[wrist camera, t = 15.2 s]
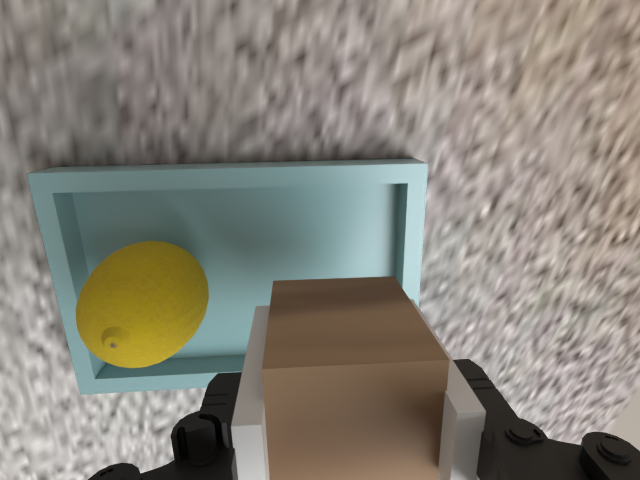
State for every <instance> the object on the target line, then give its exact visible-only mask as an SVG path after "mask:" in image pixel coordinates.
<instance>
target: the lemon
mask: <svg viewBox="0 0 640 480" xmlns="http://www.w3.org/2000/svg"><path fill="white" fill-rule="evenodd" d="M208 300H209V289H208V281H207V278H206V275H205V272H204V270H203V268H202V267H201V265H200V264H199V262H198V261H197V259H196V258H195V257H193V256H192V255H191V254H190V253H189V252H188V251H186V250H184V249H183V248H181V247H179V246H177V245H174V244H171V243H167V242H163V241H145V242H139V243H134V244H131V245H129V246H126V247H124V248H122V249H120V250H118V251H116V252H114V253H112V254H111V255H110V256H108V257H107V258H106V259H105V260H104V261H103V262H101V263H100V264H99V265H98V266H97V267H96V268H95V269H94V270H93V272H92V273H91V275H90V276H89V278H88V280H87V281H86V283H85V284H84V286H83V288H82V290H81V292H80V295H79V298H78V302H77V306H76V326H77V329H78V332H79V335H80V338H81V339H82V341H83V342H84V344H85V345H86V347H87V348H88V349H89V350H90V351H91V352H92V353H93V354H94V355H95V356H96V357H98V358H100V359H101V360H103V361H105V362H107V363H109V364H112V365H115V366H118V367H125V368H141V367H147V366H150V365H154V364H157V363H160V362H162V361H164V360H165V359H167V358H169V357H171V356H172V355H174V354H175V353H177V352H178V351H179V350H180V349H181V348H182V347H183V346H184V345H185V344H186V343H187V342H188V341H189V340H190V339H191V338H192V337H193V336H194V334H195V333H196V331H197V330H198V328H199V326H200V324H201V322H202V321H203V319H204V317H205V314H206V309H207V305H208Z"/></svg>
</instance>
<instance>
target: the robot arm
mask: <svg viewBox="0 0 640 480" xmlns="http://www.w3.org/2000/svg"><path fill="white" fill-rule="evenodd" d="M410 300H411V302H412V304H413V305H414V307H415V308H416V310H417V311H418V313H419V314H420V316H421V317H422V319H423V320H424V322H425V323H426V325H427V326H428V328H429V329H430V331H431V332H432V334H433V335H434V337H435V338H436V340H437V341H438V343H439V344H440V346H441V347H442V349H443V350H444V352H445V354H446V355H447V357H448V358H449V360H450V361H449V372H448V383H447V391H445V398H444V409H443V421H442V432H441V444H440V455H439V467H438V469H439V471H440V474H441V476H442V479H443V480H477V476H478V478H479V479H480V480H640V451H639V450H638V449H636V448H635V447H634V446H632V445H631V444H630V443H629V442H627V441H625V440H623V439H621V438H619V437H617V436H614V435H611V434H608V433H603V432H591V433H587V434H586V435H585V436H584V437H583V438H582V442H581V445H576V444H571V443H566V442H560V441H556V440H552V439H548V438H547V436H546V435H545V434H544V432H543V431H542V430H541V429H539V428H538V427H537V426H536V425H534V424H532V423H530V422H528V421H526V420H524V419H520V418H518V416H517V415H516V414H515V412H514V411H513V410H512V408H511V407H510V406H509V404H508V403H507V402H506V400H505V399H504V398H503V396H502V395H501V394H500V392H499V391H498V390H497V389H496V388H495V386H494V384H493V383H492V382H491V380H489V378H488V376H487V375H486V374H485V372H484V371H483V369H482V368H481V367H479V366H478V365H477V364H475V363H474V362H472V361H471V360H469V359H461V360H452V358H451V357H450V355H449V354H448V352H447V351H446V349H445V347H444V346H443V344H442V343H441V341H440V340H439V338H438V337H437V335H436V334H435V332H434V331H433V329H432V327H431V326H430V324H429V323H428V321H427V320H426V318H425V317H424V315H423V314H422V312H421V311H420V309H419V308H418V306H417V304H416V303H415V301H414V300H413V299H410ZM269 309H270V305H267V306H256V307H255V312H254V317H253V322H252V327H251V332H250V336H249V341H248V346H247V351H246V356H245V361H244V366H243V370H242V372H230V373H218V374H217V375H216V376H215V377H214V378H213V379H212V380H211V381H210V382H209V383H208V386H207V389H206V392H205V397H204V399H203V402H202V407H201V408H200V411H197V412H194V413H191V414H189V415H187V416H185V417H184V418H182V419H181V420H179V422H178V423H177V424H176V425H175V426H174V428H173V430H172V433H171V440H172V447H173V453H174V459H175V460H173V461H172V462H170V463H169V464H167V465H164V466H162V467H159V468H157V469H154V470H150V471H147V472H144V473H141V474H140V471H139V469H138V468H137V467H136V466H134V465H133V464H128V463H119V464H114V465H110V466H108V467H106V468H104V469H102V470H100V471H98V472H97V473H96V474H94V475H93V476H92V477H91V478H89V479H88V480H269V465H268V451H267V437H266V422H265V408H264V396H263V380H262V364H263V356H264V348H265V340H266V332H267V324H268V317H269Z"/></svg>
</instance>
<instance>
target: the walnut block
mask: <svg viewBox="0 0 640 480" xmlns="http://www.w3.org/2000/svg"><path fill="white" fill-rule="evenodd" d="M449 361H450V360H449V358H448V357H447V355H446V354H445V352H444V350H443V349H442V347H441V346H440V344H439V343H438V341H437V340H436V338H435V337H434V335H433V334H432V332H431V331H430V329H429V328H428V326H427V325H426V323H425V322H424V320H423V319H422V317H421V316H420V314H419V313H418V311H417V310H416V308H415V307H414V305H413V304H412V302H411V300H410V299H409V297H408V296H407V294H406V293H405V291H404V290H403V288H402V287H401V285H400V284H399V282H398V281H397V279H396V278H395V276H385V277H358V278H331V279H304V280H277V281H273V285H272V293H271V301H270V309H269V317H268V324H267V332H266V340H265V348H264V356H263V364H262V380H263V396H264V408H265V422H266V437H267V451H268V465H269V480H438V478H439V469H438V467H439V455H440V444H441V432H442V421H443V409H444V398H445V391H447V383H448V372H449Z"/></svg>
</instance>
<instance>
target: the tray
mask: <svg viewBox="0 0 640 480" xmlns="http://www.w3.org/2000/svg"><path fill="white" fill-rule="evenodd" d="M427 171H428V163H425V162H423V161H420V160H417V159H414V158H407V159H365V160H324V161H282V162H240V163H199V164H157V165H116V166H74V167H53V168H49V169H44V170H40V171H35V172H31V173H26V174H27V178H28V182H29V186H30V190H31V194H32V198H33V203H34V207H35V211H36V215H37V219H38V223H39V227H40V231H41V235H42V239H43V243H44V248H45V252H46V256H47V260H48V264H49V268H50V272H51V276H52V280H53V284H54V289H55V293H56V297H57V301H58V305H59V309H60V313H61V317H62V321H63V325H64V330H65V334H66V338H67V342H68V346H69V350H70V354H71V358H72V362H73V366H74V371H75V375H76V379H77V383H78V387H79V391H80V394H98V393H116V392H134V391H152V390H170V389H188V388H206V387H207V386H208V383H209V382H210V381H211V380H212V379H213V378H214V377H215V376H216V375H217V374H218V373H230V372H242V370H243V366H244V361H245V356H246V351H247V346H248V341H249V336H250V332H251V327H252V322H253V317H254V312H255V307H256V306H267V305H270V301H271V293H272V285H273V281H277V280H304V279H331V278H358V277H385V276H395V278H396V279H397V281H398V282H399V284H400V285H401V287H402V288H403V290H404V291H405V293H406V294H407V296H408V297H409V299H413V300H414V301H415V303H416V304H417V306H419V291H420V276H421V261H422V246H423V231H424V216H425V201H426V186H427ZM145 241H163V242H167V243H171V244H174V245H177V246H179V247H181V248H183V249H184V250H186V251H188V252H189V253H190V254H191V255H192V256H193V257H195V258H196V259H197V261H198V262H199V264H200V265H201V267H202V268H203V270H204V272H205V275H206V278H207V281H208V289H209V300H208V305H207V309H206V314H205V317H204V319H203V321H202V322H201V324H200V326H199V328H198V330H197V331H196V333H195V334H194V336H193V337H192V338H191V339H190V340H189V341H188V342H187V343H186V344H185V345H184V346H183V347H182V348H181V349H180V350H179V351H178V352H177V353H175V354H174V355H172V356H171V357H169V358H167V359H165V360H164V361H162V362H160V363H157V364H154V365H150V366H147V367H141V368H125V367H118V366H115V365H112V364H109V363H107V362H105V361H103V360H101V359H100V358H98V357H96V356H95V355H94V354H93V353H92V352H91V351H90V350H89V349H88V348H87V347H86V345H85V344H84V342H83V341H82V339H81V338H80V335H79V332H78V329H77V326H76V306H77V302H78V298H79V295H80V292H81V290H82V288H83V286H84V284H85V283H86V281H87V280H88V278H89V276H90V275H91V273H92V272H93V270H94V269H95V268H96V267H97V266H98V265H99V264H100V263H101V262H103V261H104V260H105V259H106V258H107V257H108V256H110V255H111V254H112V253H114V252H116V251H118V250H120V249H122V248H124V247H126V246H129V245H131V244H134V243H139V242H145Z"/></svg>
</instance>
